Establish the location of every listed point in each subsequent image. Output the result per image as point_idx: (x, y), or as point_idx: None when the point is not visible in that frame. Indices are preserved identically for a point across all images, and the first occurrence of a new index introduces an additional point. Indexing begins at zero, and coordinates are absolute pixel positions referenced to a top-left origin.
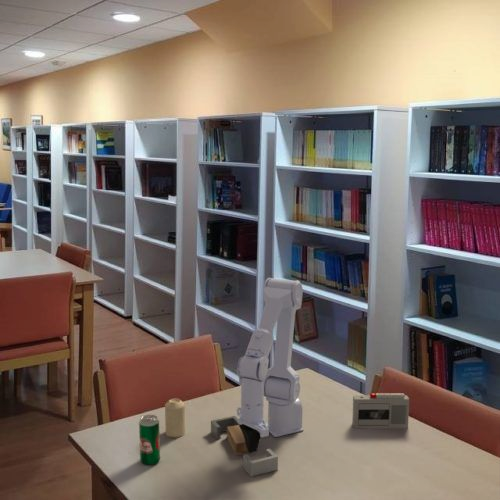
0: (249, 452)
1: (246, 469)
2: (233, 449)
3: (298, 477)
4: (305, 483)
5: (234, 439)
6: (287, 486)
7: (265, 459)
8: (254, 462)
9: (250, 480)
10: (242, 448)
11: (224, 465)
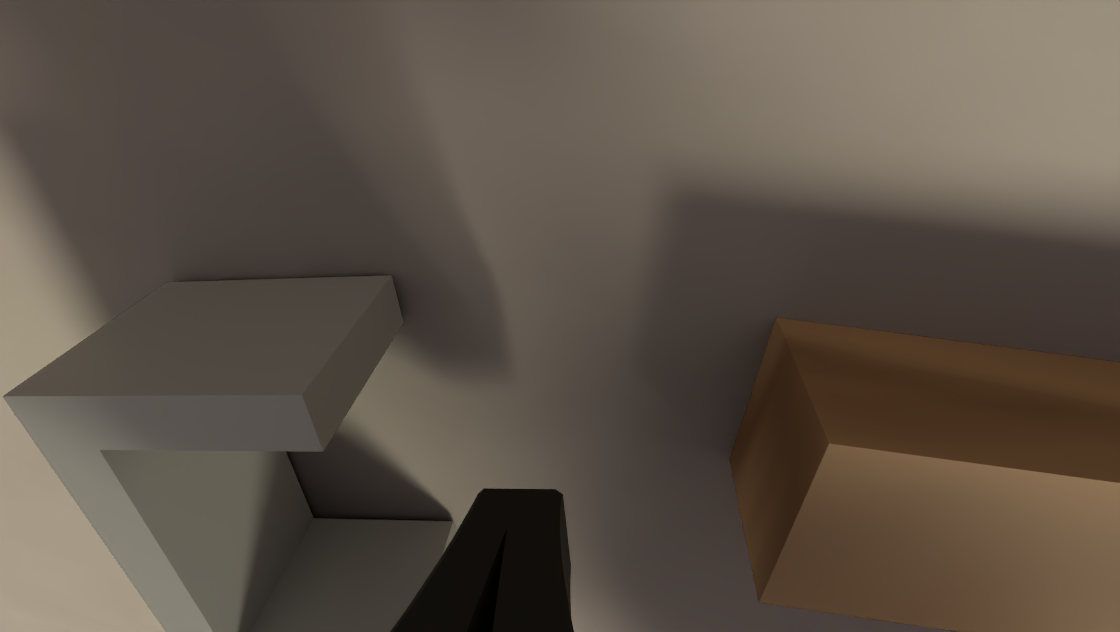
0: (482, 492)
1: (285, 291)
2: (936, 342)
3: None
4: (63, 602)
5: (996, 475)
6: (3, 494)
7: (139, 580)
8: (45, 447)
9: (93, 242)
10: (768, 452)
11: (562, 34)
